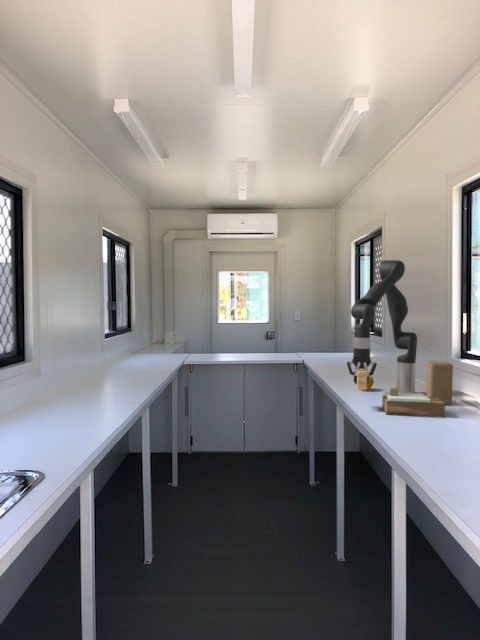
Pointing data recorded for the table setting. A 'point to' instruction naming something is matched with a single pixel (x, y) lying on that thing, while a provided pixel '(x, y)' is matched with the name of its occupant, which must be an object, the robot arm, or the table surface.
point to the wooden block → (439, 381)
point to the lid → (406, 396)
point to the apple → (369, 383)
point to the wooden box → (414, 407)
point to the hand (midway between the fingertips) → (361, 383)
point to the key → (361, 379)
